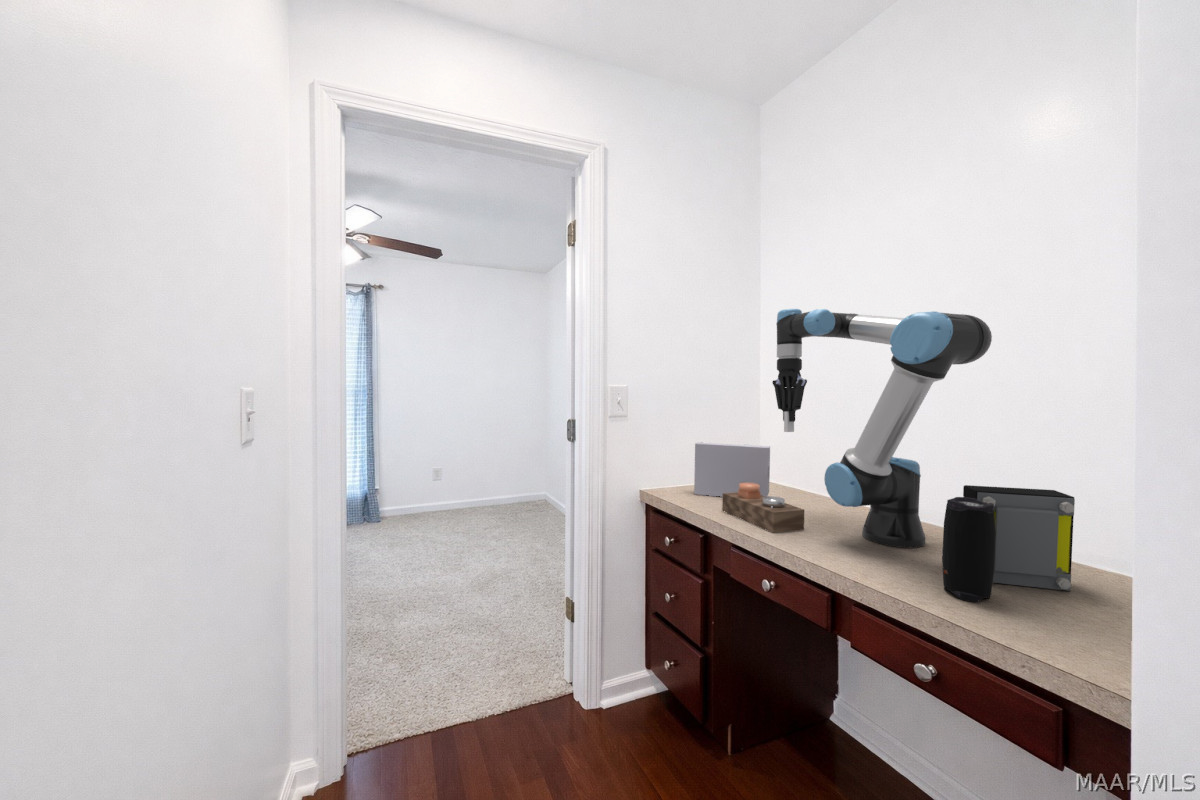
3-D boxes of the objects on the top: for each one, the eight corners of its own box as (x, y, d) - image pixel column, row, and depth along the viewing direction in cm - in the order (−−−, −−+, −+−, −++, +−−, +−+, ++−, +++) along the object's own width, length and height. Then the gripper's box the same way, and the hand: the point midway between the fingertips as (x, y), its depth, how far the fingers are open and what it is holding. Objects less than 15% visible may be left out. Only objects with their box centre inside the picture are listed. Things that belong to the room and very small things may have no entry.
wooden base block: (803, 529, 146) (804, 509, 146) (773, 533, 143) (773, 512, 142) (749, 508, 171) (750, 491, 171) (722, 510, 167) (722, 493, 167)
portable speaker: (946, 599, 100) (949, 503, 99) (937, 582, 108) (940, 494, 107) (999, 608, 96) (1002, 508, 95) (986, 590, 104) (989, 498, 104)
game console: (696, 491, 196) (697, 441, 196) (769, 498, 186) (770, 445, 185) (693, 494, 191) (694, 443, 190) (768, 501, 181) (769, 447, 180)
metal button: (788, 519, 149) (789, 500, 149) (771, 521, 147) (771, 501, 147) (774, 514, 155) (775, 495, 155) (757, 515, 153) (758, 497, 153)
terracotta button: (763, 503, 160) (763, 485, 160) (746, 505, 158) (747, 487, 158) (751, 499, 166) (751, 482, 166) (734, 500, 164) (735, 483, 164)
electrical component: (976, 584, 107) (980, 493, 107) (957, 567, 117) (961, 483, 117) (1076, 595, 102) (1081, 499, 102) (1048, 576, 112) (1052, 489, 111)
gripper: (814, 357, 154) (813, 432, 154) (783, 360, 166) (783, 430, 166) (795, 356, 151) (795, 433, 151) (765, 359, 163) (765, 430, 163)
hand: (789, 431), depth 159 cm, fingers closed
